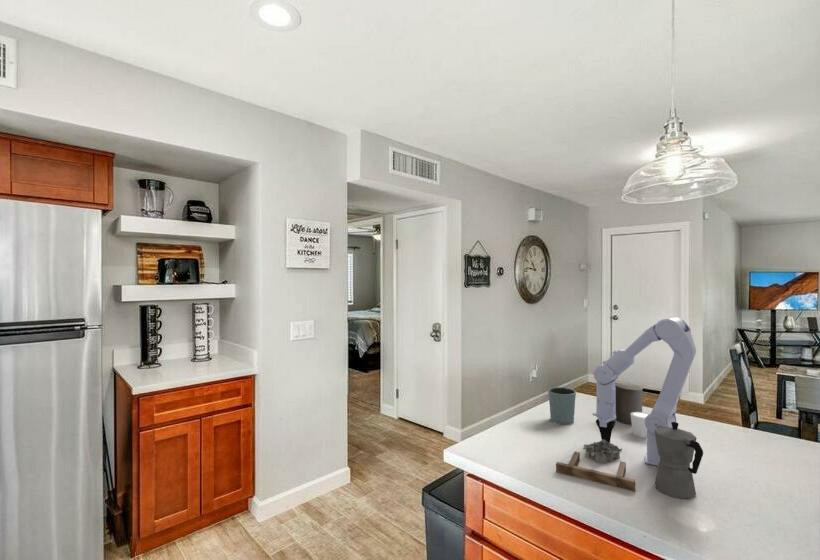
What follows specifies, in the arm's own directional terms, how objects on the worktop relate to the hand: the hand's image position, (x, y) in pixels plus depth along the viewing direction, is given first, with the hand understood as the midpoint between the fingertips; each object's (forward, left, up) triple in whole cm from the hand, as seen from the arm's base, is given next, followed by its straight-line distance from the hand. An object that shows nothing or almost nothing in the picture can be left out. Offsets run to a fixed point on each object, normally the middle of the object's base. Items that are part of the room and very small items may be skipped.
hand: (605, 442), depth 135 cm
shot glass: (-9, -18, -2) cm, 21 cm away
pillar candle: (-4, -31, -2) cm, 32 cm away
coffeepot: (-19, +22, -2) cm, 29 cm away
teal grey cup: (+18, -17, -2) cm, 25 cm away
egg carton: (0, +9, -2) cm, 9 cm away
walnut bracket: (0, +22, -1) cm, 22 cm away
